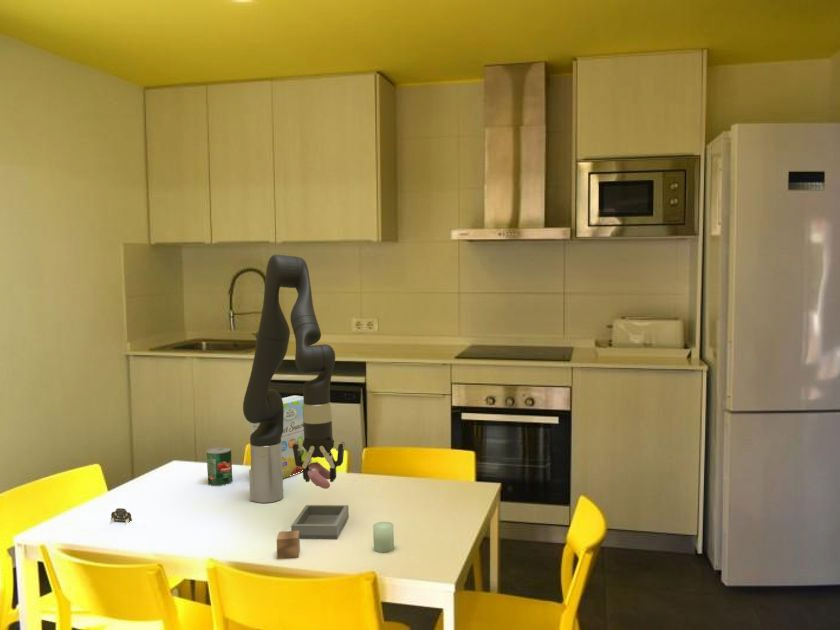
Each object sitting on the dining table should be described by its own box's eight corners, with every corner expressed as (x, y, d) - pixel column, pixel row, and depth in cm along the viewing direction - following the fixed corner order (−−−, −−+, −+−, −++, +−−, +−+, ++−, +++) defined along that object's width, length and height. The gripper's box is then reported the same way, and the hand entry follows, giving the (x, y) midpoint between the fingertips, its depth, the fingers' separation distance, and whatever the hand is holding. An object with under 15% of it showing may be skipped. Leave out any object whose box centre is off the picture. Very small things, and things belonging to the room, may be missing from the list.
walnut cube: (277, 559, 174) (276, 539, 174) (279, 551, 179) (278, 531, 179) (298, 558, 175) (297, 538, 174) (299, 550, 180) (299, 530, 179)
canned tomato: (228, 486, 234) (227, 452, 233) (204, 486, 234) (203, 453, 233) (235, 478, 242) (234, 446, 241) (212, 479, 242) (210, 447, 241)
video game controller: (318, 484, 199) (306, 462, 198) (333, 476, 199) (321, 454, 198) (315, 495, 189) (303, 472, 189) (331, 487, 189) (318, 464, 189)
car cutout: (103, 527, 200) (102, 512, 200) (117, 519, 207) (116, 504, 206) (152, 530, 197) (151, 514, 197) (165, 521, 204) (164, 506, 204)
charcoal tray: (291, 538, 187) (291, 525, 187) (306, 517, 203) (306, 504, 203) (337, 539, 186) (336, 525, 186) (348, 517, 202) (348, 505, 202)
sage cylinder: (372, 552, 177) (371, 528, 176) (375, 544, 182) (374, 521, 181) (392, 553, 176) (391, 529, 176) (395, 545, 181) (394, 521, 181)
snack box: (269, 486, 233) (266, 407, 231) (250, 482, 238) (246, 405, 236) (314, 469, 251) (311, 396, 249) (295, 465, 256) (292, 394, 254)
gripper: (287, 422, 189) (290, 485, 191) (341, 422, 188) (343, 485, 189) (294, 416, 197) (297, 477, 198) (346, 416, 196) (349, 476, 197)
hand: (320, 480), depth 194 cm, fingers closed on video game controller, 6 cm apart
